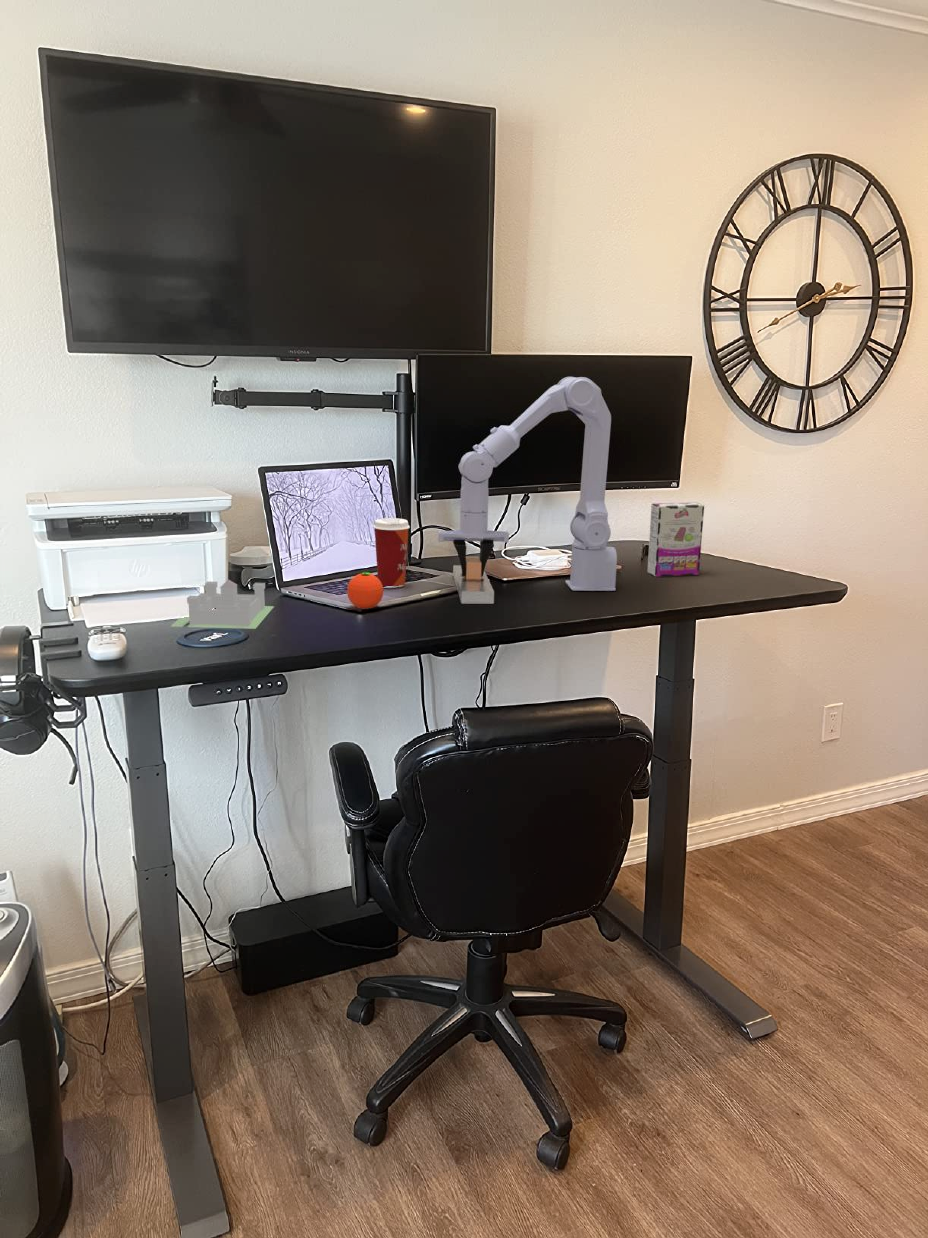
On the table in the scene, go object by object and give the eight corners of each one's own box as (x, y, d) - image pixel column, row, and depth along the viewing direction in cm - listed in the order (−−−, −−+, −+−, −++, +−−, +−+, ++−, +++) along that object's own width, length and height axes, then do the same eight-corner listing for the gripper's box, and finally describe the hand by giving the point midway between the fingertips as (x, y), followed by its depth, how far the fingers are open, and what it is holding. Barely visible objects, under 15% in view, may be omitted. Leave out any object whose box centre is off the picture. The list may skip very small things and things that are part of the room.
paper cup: (412, 589, 188) (413, 523, 184) (376, 590, 186) (375, 523, 182) (406, 580, 195) (406, 517, 191) (370, 582, 193) (370, 517, 189)
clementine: (351, 601, 177) (351, 566, 175) (386, 603, 176) (386, 568, 174) (344, 612, 169) (343, 575, 167) (380, 613, 169) (380, 577, 167)
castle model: (255, 631, 158) (253, 590, 156) (170, 629, 158) (167, 588, 156) (273, 609, 172) (272, 571, 170) (196, 607, 172) (193, 569, 170)
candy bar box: (689, 570, 211) (695, 501, 206) (699, 575, 206) (706, 504, 202) (645, 572, 208) (650, 502, 204) (654, 577, 204) (660, 505, 199)
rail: (481, 576, 201) (481, 565, 200) (493, 603, 178) (494, 591, 177) (453, 576, 200) (453, 565, 199) (461, 603, 177) (461, 591, 176)
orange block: (477, 583, 192) (478, 556, 191) (480, 591, 186) (481, 562, 184) (463, 583, 192) (464, 556, 190) (466, 591, 186) (466, 562, 184)
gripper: (506, 508, 189) (504, 571, 192) (438, 507, 188) (437, 570, 191) (510, 513, 182) (508, 578, 186) (439, 513, 181) (438, 578, 185)
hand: (472, 575), depth 188 cm, fingers closed on orange block, 3 cm apart
